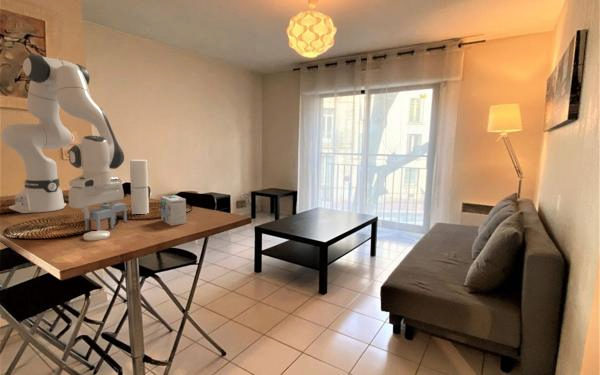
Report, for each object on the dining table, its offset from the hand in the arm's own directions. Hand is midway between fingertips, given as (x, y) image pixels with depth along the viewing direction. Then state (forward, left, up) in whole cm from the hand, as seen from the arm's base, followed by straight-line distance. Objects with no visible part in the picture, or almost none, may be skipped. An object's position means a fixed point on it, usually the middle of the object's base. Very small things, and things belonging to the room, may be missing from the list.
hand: (99, 215), depth 120 cm
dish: (+7, -7, -6) cm, 11 cm away
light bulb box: (+17, +21, -6) cm, 28 cm away
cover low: (0, 0, -6) cm, 6 cm away
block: (0, 0, -6) cm, 6 cm away
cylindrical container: (-6, +26, -6) cm, 27 cm away
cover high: (-4, +10, -6) cm, 12 cm away
